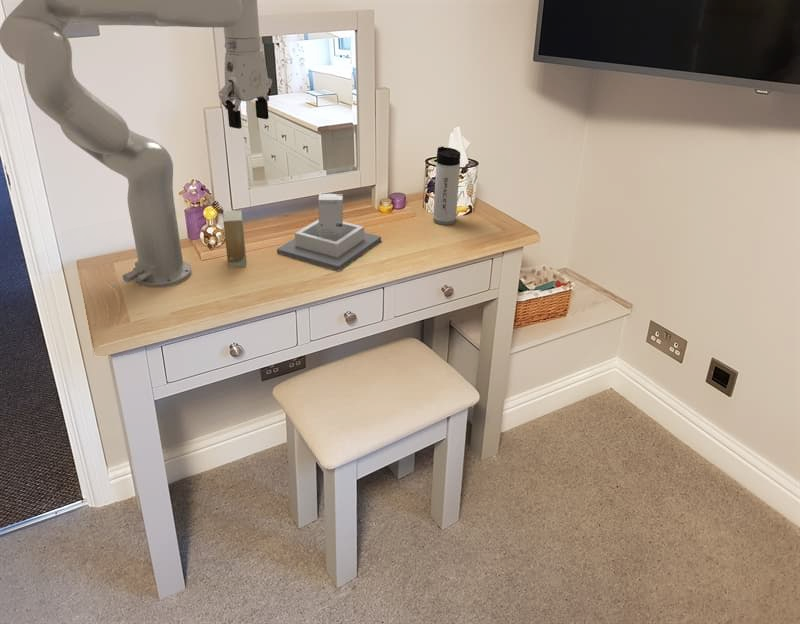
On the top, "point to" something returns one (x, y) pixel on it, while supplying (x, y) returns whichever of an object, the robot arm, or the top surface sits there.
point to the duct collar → (329, 246)
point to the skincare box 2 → (330, 216)
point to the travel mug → (446, 185)
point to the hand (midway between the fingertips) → (249, 122)
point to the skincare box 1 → (234, 239)
